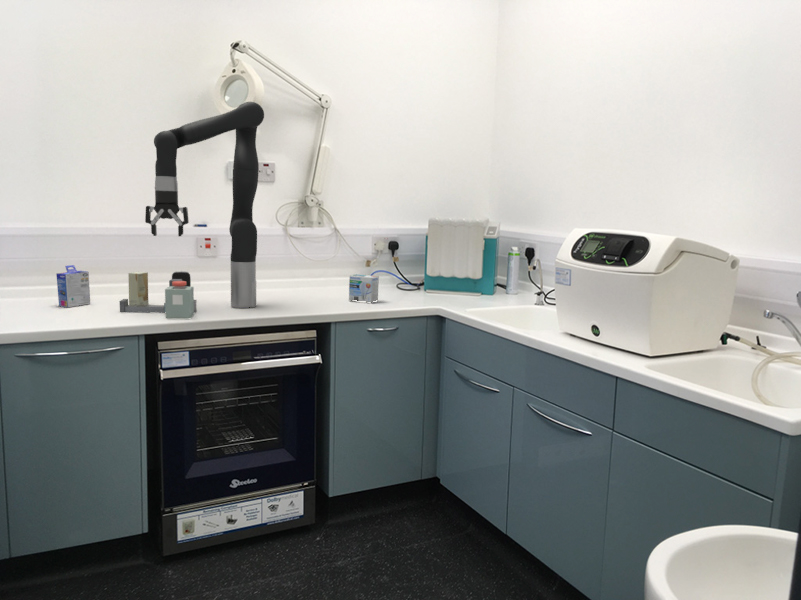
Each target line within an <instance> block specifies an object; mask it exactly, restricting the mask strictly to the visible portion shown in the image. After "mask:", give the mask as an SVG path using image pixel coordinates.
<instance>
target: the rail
mask: <svg viewBox="0 0 801 600" xmlns="http://www.w3.org/2000/svg"><path fill="white" fill-rule="evenodd" d="M120 312H125V313H150V312H159V313H161V312H162V313H165V312H164V304H160V305H159V304H147V305H129V298H122V299H120V300H119V313H120ZM196 312H197V299H194V314H195V313H196ZM165 314H166V313H165Z"/></svg>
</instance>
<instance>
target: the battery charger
mask: <svg viewBox="0 0 801 600" xmlns="http://www.w3.org/2000/svg"><path fill="white" fill-rule="evenodd" d="M171 279H182V281H186V283H187V285H186V286H185V287H192V286H191V283H192V282H191V274H190V272H189V271H182V270H181V271H174V272H173V273H172V274H171Z"/></svg>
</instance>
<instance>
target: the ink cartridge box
mask: <svg viewBox="0 0 801 600" xmlns="http://www.w3.org/2000/svg"><path fill="white" fill-rule="evenodd" d="M69 268H71V269H69ZM65 270H66V272H58V273H56V274H55V275H56V286H57V299H58V307H61V306H62V308H71V307H79V305H80V306H85V305H90V304H91V293H90V292H91V290H90V271H86V270H85V271H84V270H77V269H76V266H75V265H74V264H73V265H65Z"/></svg>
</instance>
